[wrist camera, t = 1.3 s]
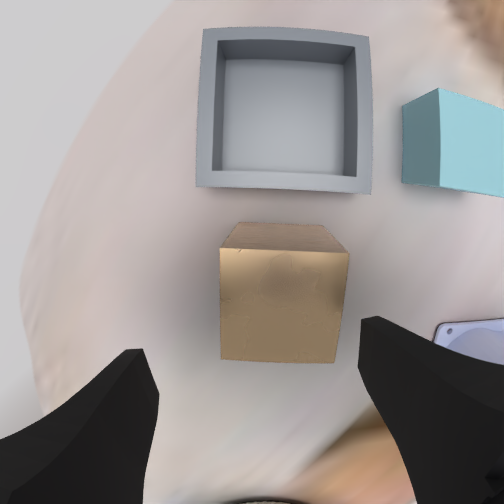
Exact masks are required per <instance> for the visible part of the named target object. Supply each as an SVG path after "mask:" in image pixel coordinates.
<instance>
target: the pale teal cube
mask: <svg viewBox="0 0 504 504" xmlns="http://www.w3.org/2000/svg"><path fill="white" fill-rule="evenodd" d="M402 113H403V161H402V183H407V184H415V185H423V186H430V187H437V188H444V189H450V190H457V191H463V192H470V193H477V194H484V195H491V196H497V197H503V198H504V110H503V109H501V108H498V107H496V106H493V105H490V104H488V103H485V102H482V101H479V100H476V99H473V98H470V97H467V96H464V95H461V94H458V93H454V92H451V91H448V90H444V89H440V88H437V89H435V90H433V91H431V92H429V93H427V94H425V95H423V96H421V97H419V98H417V99H415V100H413V101H411V102H409V103H407V104H405V105H403V106H402Z"/></svg>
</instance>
